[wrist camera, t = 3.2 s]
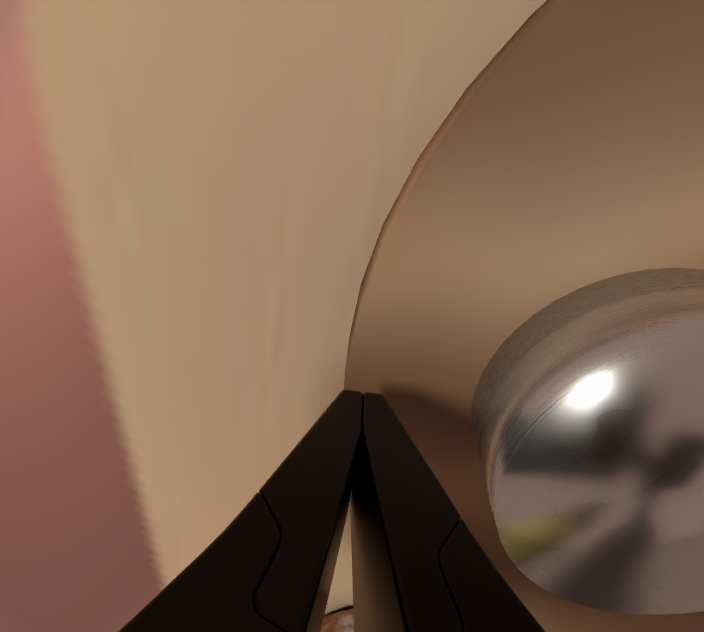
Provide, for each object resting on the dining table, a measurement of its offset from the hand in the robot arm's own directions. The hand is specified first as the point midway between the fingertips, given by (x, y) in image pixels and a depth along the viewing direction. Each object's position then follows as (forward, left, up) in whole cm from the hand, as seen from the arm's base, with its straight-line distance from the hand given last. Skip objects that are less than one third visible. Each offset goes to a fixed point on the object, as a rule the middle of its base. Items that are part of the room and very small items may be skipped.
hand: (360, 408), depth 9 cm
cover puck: (0, -6, -1) cm, 6 cm away
